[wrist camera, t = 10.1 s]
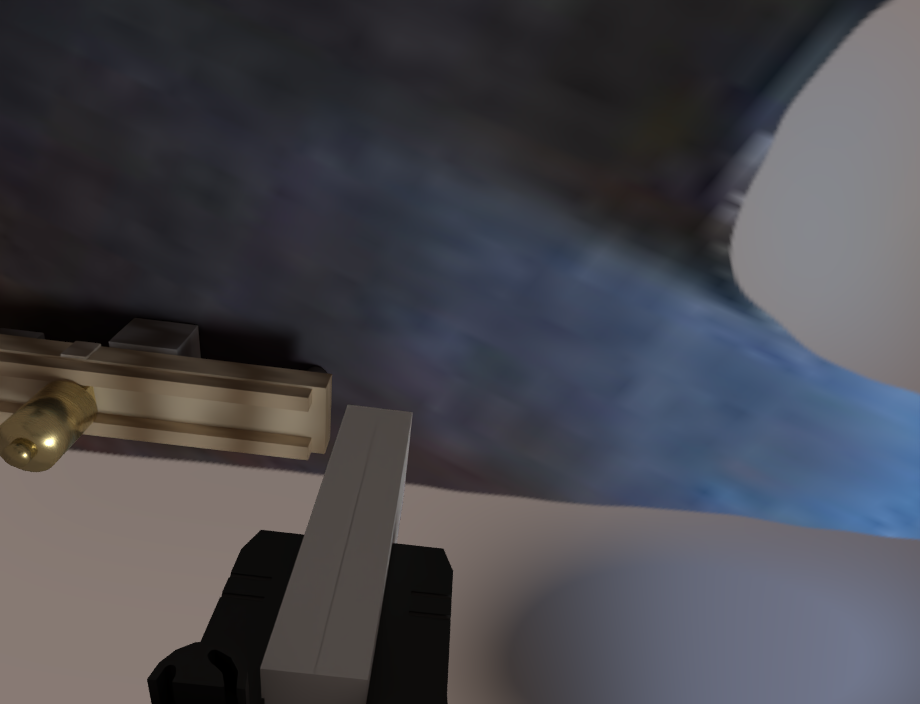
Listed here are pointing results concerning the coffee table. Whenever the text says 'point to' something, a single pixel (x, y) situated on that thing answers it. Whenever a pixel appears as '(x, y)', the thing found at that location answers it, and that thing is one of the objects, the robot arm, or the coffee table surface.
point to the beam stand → (174, 390)
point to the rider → (47, 425)
